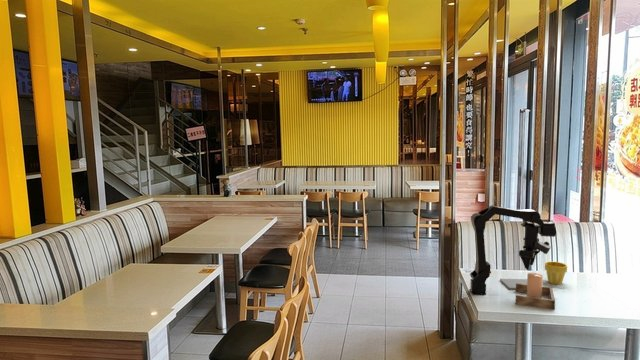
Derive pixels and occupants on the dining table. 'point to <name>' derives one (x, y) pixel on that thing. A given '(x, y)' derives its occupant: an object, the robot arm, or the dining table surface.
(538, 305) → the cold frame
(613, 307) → the dining table surface
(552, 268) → the plant pot
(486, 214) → the robot arm
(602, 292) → the dining table surface
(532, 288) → the candle
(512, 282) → the slate mat
